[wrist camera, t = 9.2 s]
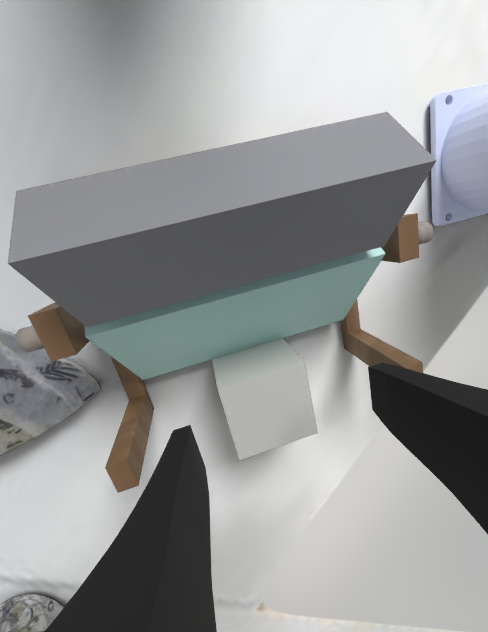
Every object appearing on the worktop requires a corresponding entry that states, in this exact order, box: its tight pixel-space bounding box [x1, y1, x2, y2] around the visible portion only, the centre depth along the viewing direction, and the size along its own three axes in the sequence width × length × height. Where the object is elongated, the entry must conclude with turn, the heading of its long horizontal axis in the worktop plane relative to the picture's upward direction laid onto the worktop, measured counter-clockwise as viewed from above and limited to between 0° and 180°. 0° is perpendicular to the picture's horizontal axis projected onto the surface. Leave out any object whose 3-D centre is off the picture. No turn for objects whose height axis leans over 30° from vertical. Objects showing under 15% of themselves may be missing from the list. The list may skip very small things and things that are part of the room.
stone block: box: [212, 338, 318, 460], centre depth 18 cm, size 5×5×5 cm
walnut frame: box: [16, 214, 434, 492], centre depth 15 cm, size 18×14×6 cm
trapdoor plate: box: [8, 112, 437, 380], centre depth 14 cm, size 14×12×3 cm
